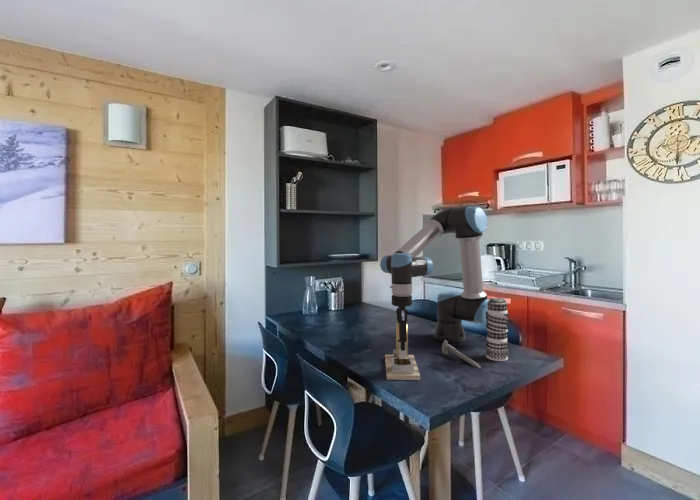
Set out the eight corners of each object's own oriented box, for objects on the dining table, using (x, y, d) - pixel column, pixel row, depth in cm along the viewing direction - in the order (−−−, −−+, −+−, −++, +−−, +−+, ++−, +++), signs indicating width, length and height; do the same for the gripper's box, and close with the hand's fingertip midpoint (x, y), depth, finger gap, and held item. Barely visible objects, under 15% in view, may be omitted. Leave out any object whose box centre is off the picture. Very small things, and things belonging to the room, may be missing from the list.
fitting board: (420, 380, 126) (420, 367, 126) (386, 379, 127) (386, 367, 127) (413, 358, 148) (413, 347, 148) (385, 358, 149) (384, 347, 149)
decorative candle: (500, 353, 153) (500, 296, 152) (513, 360, 144) (514, 300, 143) (481, 354, 151) (481, 297, 150) (493, 362, 142) (493, 301, 141)
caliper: (441, 353, 154) (441, 339, 154) (443, 353, 155) (443, 339, 154) (479, 368, 136) (479, 353, 136) (481, 368, 137) (481, 352, 136)
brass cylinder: (407, 363, 134) (407, 322, 134) (408, 367, 130) (408, 325, 129) (395, 363, 135) (395, 322, 134) (396, 367, 130) (396, 325, 129)
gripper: (390, 290, 140) (391, 348, 141) (392, 298, 123) (393, 364, 124) (409, 290, 139) (409, 348, 141) (414, 298, 122) (414, 364, 123)
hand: (402, 355), depth 132 cm, fingers closed on brass cylinder, 4 cm apart
